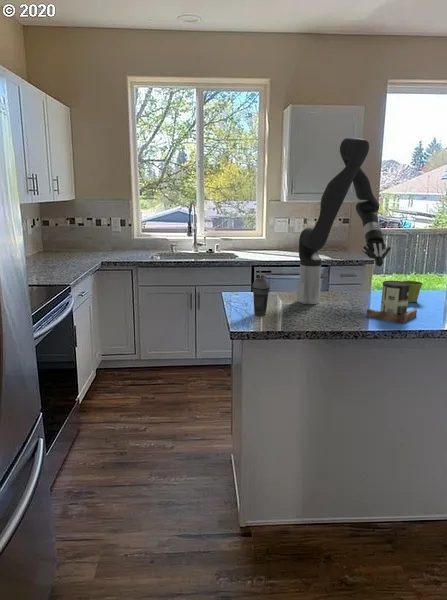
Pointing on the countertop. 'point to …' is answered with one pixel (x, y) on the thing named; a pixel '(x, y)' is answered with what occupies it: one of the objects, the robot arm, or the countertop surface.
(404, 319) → the bracket
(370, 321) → the countertop surface
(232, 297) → the countertop surface
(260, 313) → the beverage cup
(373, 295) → the countertop surface
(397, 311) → the coffee can
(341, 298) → the countertop surface
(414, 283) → the plant pot
